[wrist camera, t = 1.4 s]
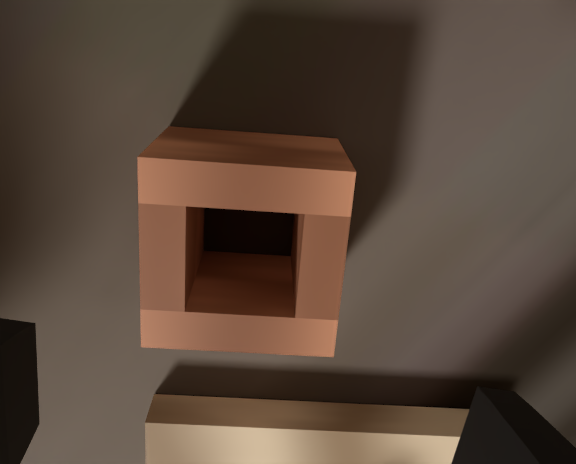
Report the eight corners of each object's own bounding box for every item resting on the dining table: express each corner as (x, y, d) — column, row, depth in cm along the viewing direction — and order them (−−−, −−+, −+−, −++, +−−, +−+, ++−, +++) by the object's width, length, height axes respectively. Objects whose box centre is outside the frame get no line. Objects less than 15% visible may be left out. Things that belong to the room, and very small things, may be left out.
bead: (168, 279, 18) (141, 347, 14) (168, 126, 16) (137, 156, 12) (321, 288, 18) (333, 357, 14) (337, 138, 16) (356, 172, 13)
